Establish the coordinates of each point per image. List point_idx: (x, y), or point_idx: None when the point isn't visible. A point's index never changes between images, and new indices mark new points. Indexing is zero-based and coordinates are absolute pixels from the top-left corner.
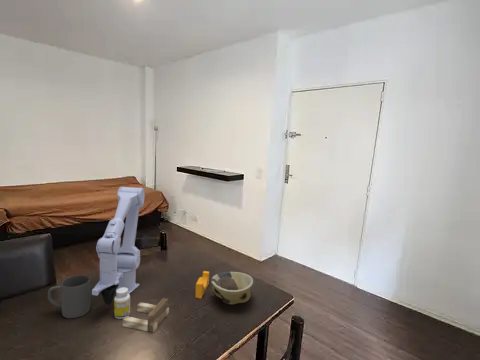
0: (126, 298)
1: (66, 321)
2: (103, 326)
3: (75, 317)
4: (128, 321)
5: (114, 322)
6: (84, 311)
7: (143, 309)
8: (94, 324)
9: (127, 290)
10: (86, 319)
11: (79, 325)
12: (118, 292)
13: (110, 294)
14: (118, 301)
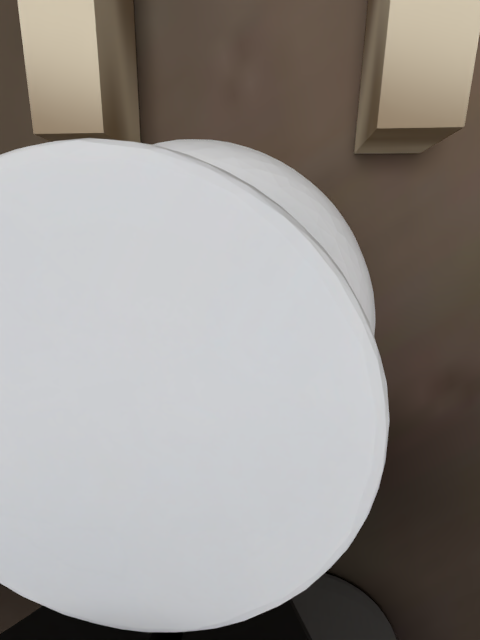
0: (252, 159)
1: (431, 636)
2: (451, 342)
3: (379, 609)
4: (474, 22)
5: (373, 277)
6: (332, 601)
7: (119, 45)
8: (434, 432)
9: (18, 153)
10: (379, 526)
11: (466, 532)
12: (351, 490)
13: (278, 613)
14: (374, 314)
